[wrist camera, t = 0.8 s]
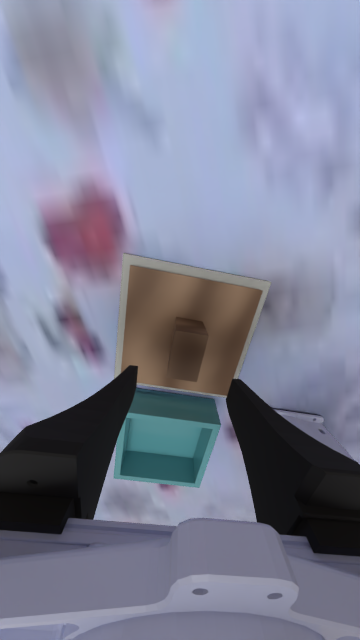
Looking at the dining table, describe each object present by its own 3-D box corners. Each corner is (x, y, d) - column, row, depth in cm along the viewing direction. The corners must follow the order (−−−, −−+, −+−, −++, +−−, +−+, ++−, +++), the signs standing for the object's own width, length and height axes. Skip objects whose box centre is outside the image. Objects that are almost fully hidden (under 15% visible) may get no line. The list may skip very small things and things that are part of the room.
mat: (268, 281, 18) (271, 282, 18) (229, 395, 23) (230, 398, 23) (124, 253, 17) (123, 253, 17) (115, 378, 22) (113, 381, 22)
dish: (214, 399, 23) (221, 425, 20) (196, 456, 27) (199, 487, 23) (129, 387, 23) (119, 411, 19) (123, 447, 26) (113, 478, 23)
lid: (259, 289, 18) (286, 297, 14) (225, 391, 22) (237, 423, 18) (132, 265, 17) (115, 265, 13) (122, 376, 22) (106, 405, 17)
